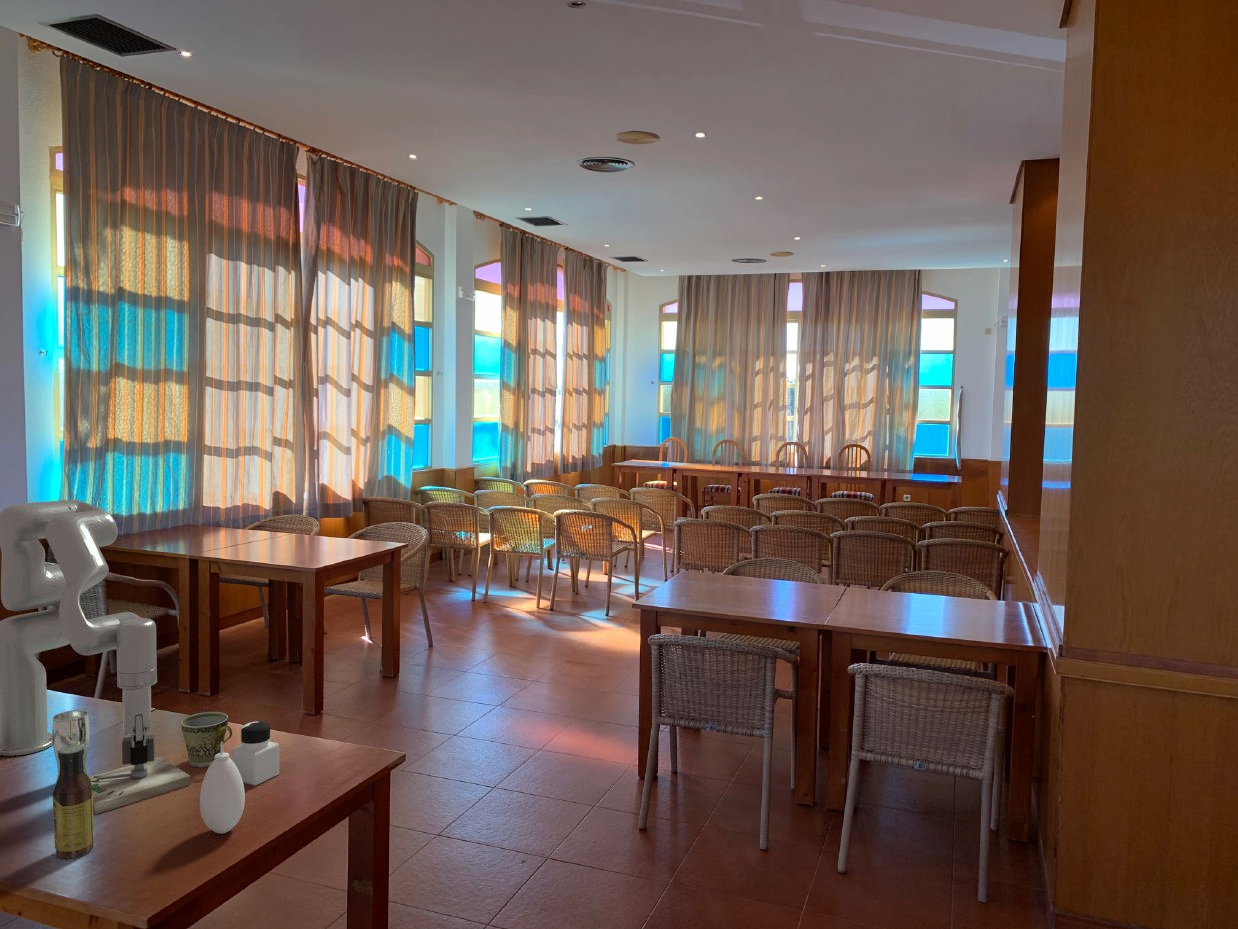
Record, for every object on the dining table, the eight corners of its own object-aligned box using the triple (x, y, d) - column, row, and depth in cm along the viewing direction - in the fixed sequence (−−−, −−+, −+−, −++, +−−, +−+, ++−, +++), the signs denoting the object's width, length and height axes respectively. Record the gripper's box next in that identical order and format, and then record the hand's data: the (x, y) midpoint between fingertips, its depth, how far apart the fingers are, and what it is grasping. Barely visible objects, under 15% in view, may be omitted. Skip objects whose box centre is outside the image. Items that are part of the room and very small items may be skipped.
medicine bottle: (280, 774, 203) (279, 722, 202) (255, 786, 197) (254, 732, 196) (256, 768, 206) (256, 716, 205) (231, 780, 200) (230, 726, 199)
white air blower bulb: (227, 818, 182) (226, 730, 180) (253, 828, 178) (252, 738, 176) (191, 834, 175) (190, 743, 174) (217, 845, 171) (216, 752, 170)
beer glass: (73, 791, 193) (71, 722, 192) (45, 787, 194) (43, 719, 193) (98, 778, 199) (97, 711, 198) (71, 774, 201) (69, 708, 200)
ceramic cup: (171, 766, 207) (170, 723, 206) (206, 750, 216) (205, 709, 215) (214, 775, 202) (214, 732, 201) (248, 759, 211) (248, 717, 210)
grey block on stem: (98, 777, 194) (97, 739, 194) (155, 770, 198) (155, 734, 198) (95, 783, 191) (94, 745, 191) (153, 776, 195) (153, 739, 195)
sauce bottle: (66, 844, 170) (63, 740, 169) (100, 843, 171) (98, 740, 169) (47, 862, 164) (44, 754, 162) (83, 861, 164) (80, 754, 163)
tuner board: (67, 792, 192) (67, 782, 192) (159, 765, 206) (159, 756, 206) (95, 814, 182) (95, 803, 182) (190, 784, 197) (190, 774, 197)
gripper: (116, 669, 199) (118, 750, 201) (117, 690, 185) (119, 778, 187) (154, 664, 203) (156, 745, 204) (159, 685, 189) (160, 771, 190)
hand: (138, 760), depth 196 cm, fingers closed on grey block on stem, 2 cm apart
